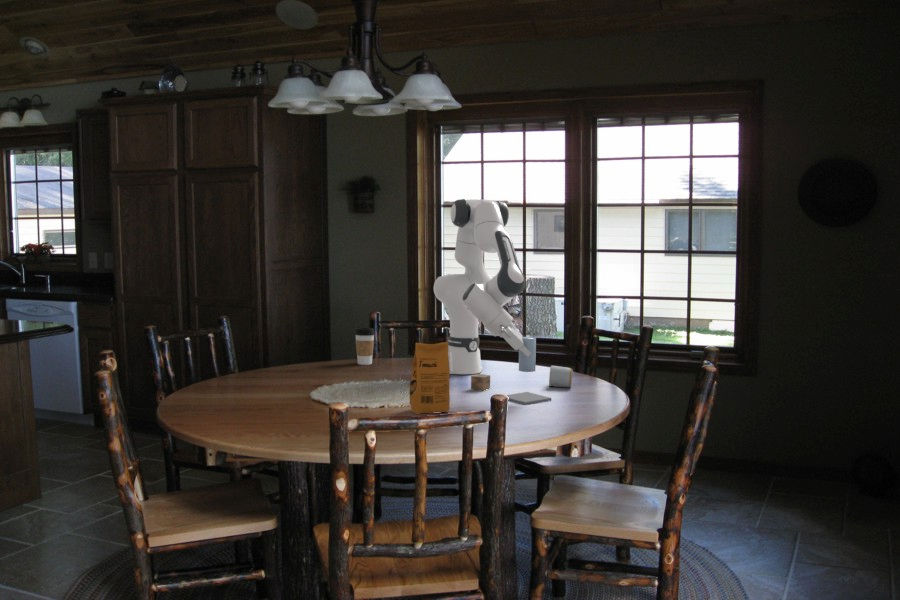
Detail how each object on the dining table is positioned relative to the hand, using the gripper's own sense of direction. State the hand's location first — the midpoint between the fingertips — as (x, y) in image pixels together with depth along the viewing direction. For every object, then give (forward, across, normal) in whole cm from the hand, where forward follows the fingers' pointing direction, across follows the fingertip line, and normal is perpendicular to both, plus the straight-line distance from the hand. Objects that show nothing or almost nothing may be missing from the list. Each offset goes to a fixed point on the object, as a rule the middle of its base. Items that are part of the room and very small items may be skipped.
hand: (529, 353), depth 285 cm
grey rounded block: (+20, +24, +3) cm, 32 cm away
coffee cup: (-36, +62, +58) cm, 92 cm away
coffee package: (-11, -20, +34) cm, 41 cm away
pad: (+11, 0, +12) cm, 16 cm away
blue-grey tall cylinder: (+4, 0, +5) cm, 6 cm away
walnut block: (-1, +16, +23) cm, 28 cm away
